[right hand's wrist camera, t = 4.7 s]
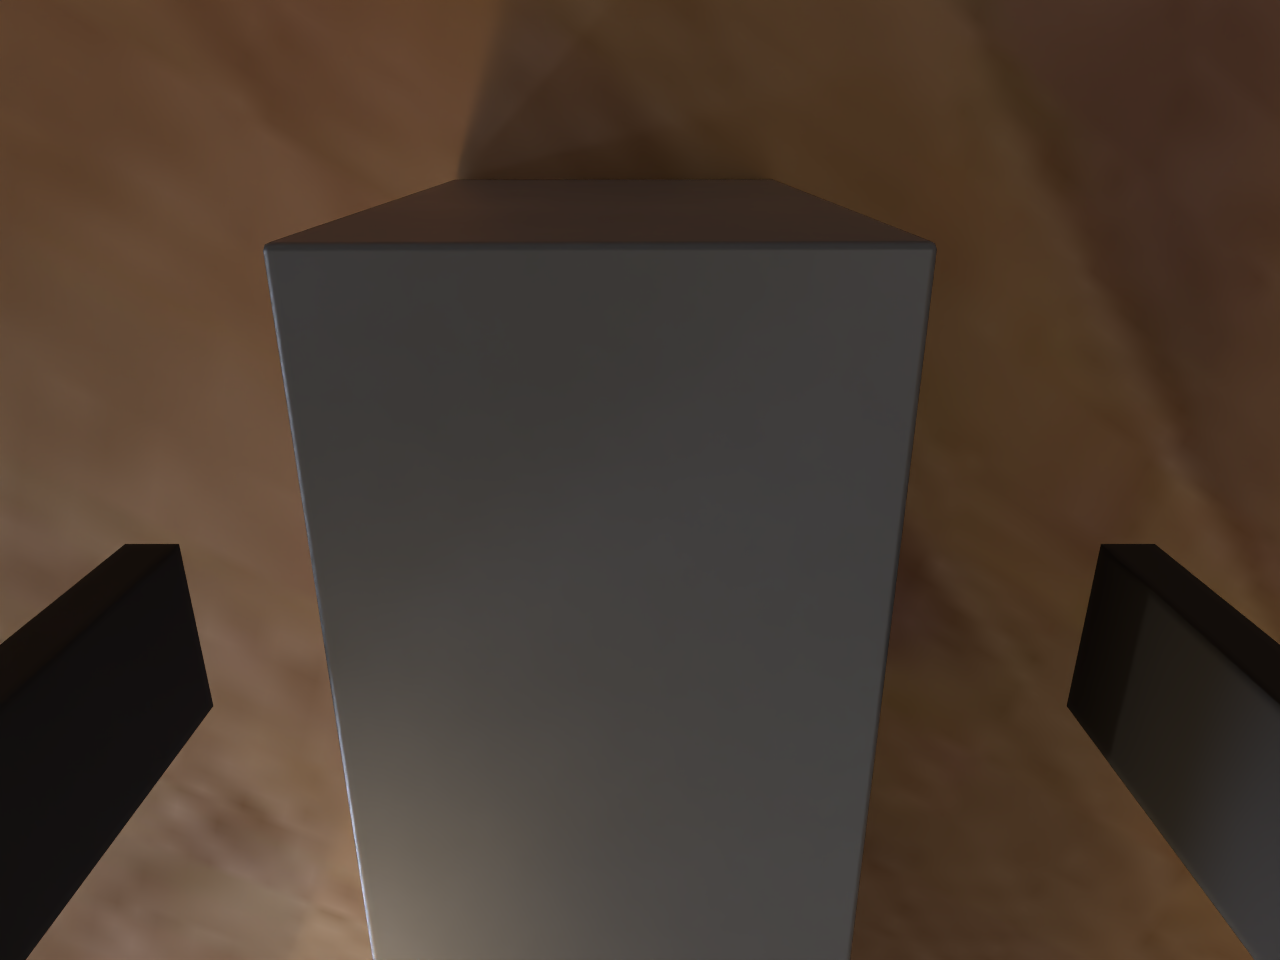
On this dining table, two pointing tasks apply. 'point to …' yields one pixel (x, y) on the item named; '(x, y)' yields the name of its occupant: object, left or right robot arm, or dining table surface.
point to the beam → (605, 555)
